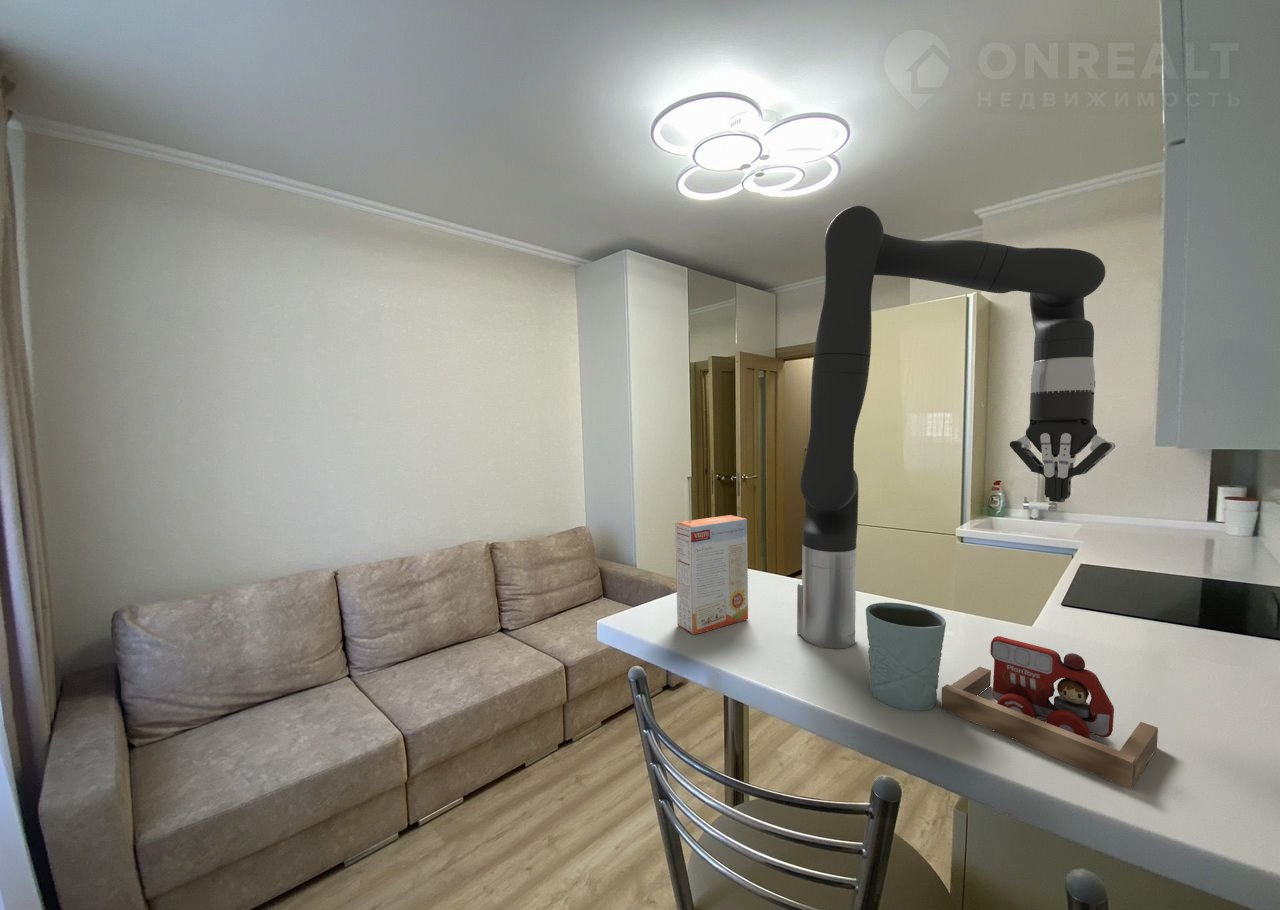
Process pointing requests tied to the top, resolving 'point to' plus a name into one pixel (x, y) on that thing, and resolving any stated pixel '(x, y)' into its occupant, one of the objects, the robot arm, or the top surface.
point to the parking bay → (1051, 733)
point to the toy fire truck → (1050, 687)
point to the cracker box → (711, 572)
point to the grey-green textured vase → (904, 654)
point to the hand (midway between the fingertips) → (1057, 501)
